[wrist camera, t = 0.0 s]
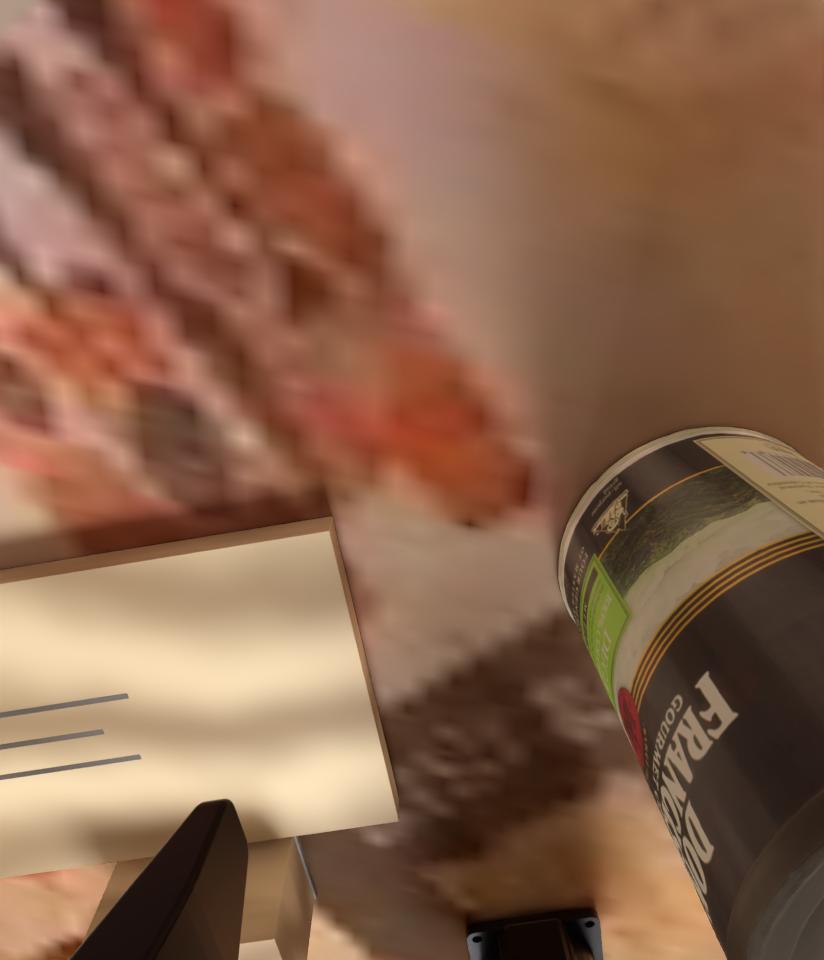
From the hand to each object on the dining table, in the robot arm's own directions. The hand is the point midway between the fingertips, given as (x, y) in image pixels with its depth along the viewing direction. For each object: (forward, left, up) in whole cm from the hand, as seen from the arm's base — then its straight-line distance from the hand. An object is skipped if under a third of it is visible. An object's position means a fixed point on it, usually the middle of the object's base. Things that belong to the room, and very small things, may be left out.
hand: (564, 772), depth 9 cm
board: (-9, +17, -15) cm, 24 cm away
